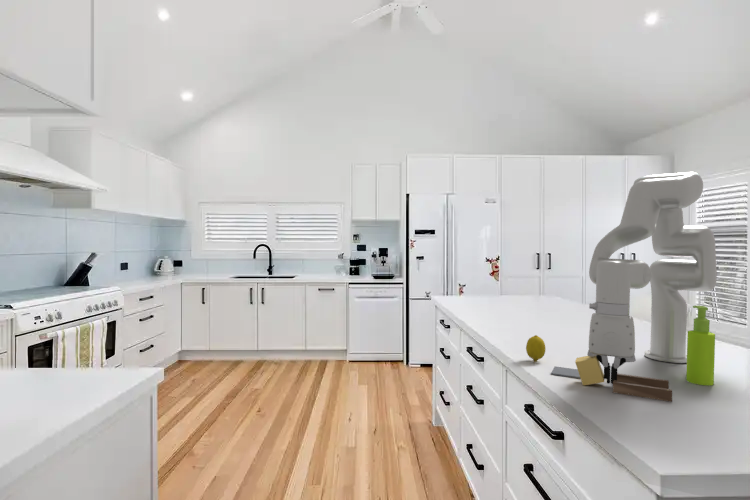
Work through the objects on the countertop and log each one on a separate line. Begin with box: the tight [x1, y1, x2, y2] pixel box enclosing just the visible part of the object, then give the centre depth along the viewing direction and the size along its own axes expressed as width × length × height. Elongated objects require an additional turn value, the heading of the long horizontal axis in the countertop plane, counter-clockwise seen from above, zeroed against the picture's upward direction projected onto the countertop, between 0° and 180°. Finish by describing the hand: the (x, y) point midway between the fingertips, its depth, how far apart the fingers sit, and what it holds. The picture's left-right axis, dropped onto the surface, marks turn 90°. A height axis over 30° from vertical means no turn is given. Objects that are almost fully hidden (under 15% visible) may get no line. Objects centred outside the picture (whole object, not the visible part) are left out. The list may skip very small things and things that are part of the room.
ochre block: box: [574, 355, 605, 386], centre depth 115 cm, size 5×5×6 cm
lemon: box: [525, 334, 546, 362], centre depth 137 cm, size 6×6×8 cm
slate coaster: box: [550, 366, 581, 380], centre depth 124 cm, size 8×8×1 cm
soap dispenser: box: [685, 305, 716, 387], centre depth 119 cm, size 6×7×20 cm
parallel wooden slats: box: [612, 372, 673, 403], centre depth 110 cm, size 9×12×2 cm
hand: (610, 382), depth 113 cm, fingers closed
